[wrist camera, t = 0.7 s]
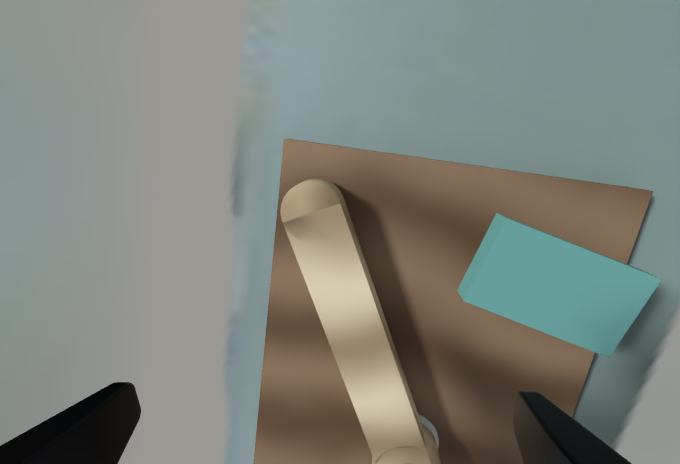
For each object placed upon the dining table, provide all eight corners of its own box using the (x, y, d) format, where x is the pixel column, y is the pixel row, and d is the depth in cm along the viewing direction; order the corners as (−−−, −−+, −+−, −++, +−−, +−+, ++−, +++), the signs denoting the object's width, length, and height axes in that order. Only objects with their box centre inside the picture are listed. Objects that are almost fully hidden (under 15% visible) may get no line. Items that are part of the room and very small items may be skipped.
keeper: (452, 488, 23) (469, 563, 19) (354, 450, 23) (350, 517, 19) (597, 249, 19) (662, 279, 14) (476, 201, 19) (506, 218, 14)
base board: (525, 511, 24) (532, 526, 23) (257, 460, 25) (252, 473, 24) (638, 188, 19) (653, 191, 18) (288, 138, 20) (284, 138, 19)
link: (443, 464, 22) (459, 534, 18) (382, 476, 23) (385, 546, 19) (343, 167, 18) (335, 173, 14) (273, 191, 19) (247, 203, 15)
